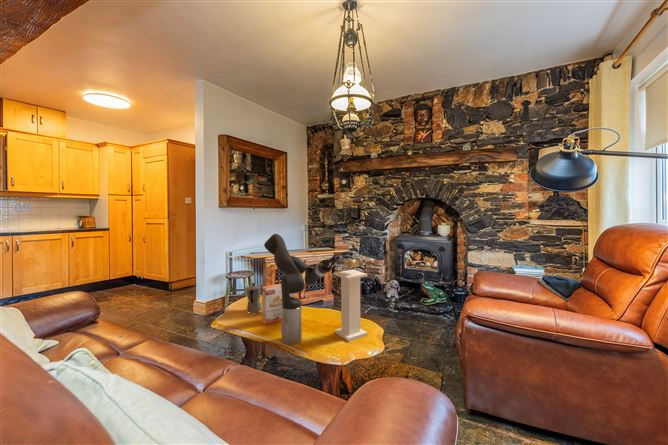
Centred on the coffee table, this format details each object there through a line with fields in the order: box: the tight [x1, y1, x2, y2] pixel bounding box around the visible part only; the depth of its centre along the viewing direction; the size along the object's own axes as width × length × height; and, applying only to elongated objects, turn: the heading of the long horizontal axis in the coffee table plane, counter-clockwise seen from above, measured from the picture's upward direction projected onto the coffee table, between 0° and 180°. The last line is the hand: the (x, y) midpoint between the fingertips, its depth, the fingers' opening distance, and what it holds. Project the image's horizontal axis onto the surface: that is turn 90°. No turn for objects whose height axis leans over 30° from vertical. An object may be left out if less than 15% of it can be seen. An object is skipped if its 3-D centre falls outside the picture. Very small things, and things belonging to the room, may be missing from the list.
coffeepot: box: [245, 282, 262, 314], centre depth 181 cm, size 15×9×18 cm, turn 6°
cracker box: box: [261, 282, 283, 326], centre depth 166 cm, size 14×6×21 cm, turn 126°
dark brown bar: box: [334, 258, 360, 269], centre depth 152 cm, size 5×20×3 cm, turn 33°
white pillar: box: [333, 269, 368, 343], centre depth 148 cm, size 12×12×32 cm
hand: (337, 257), depth 157 cm, fingers closed on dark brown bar, 2 cm apart
